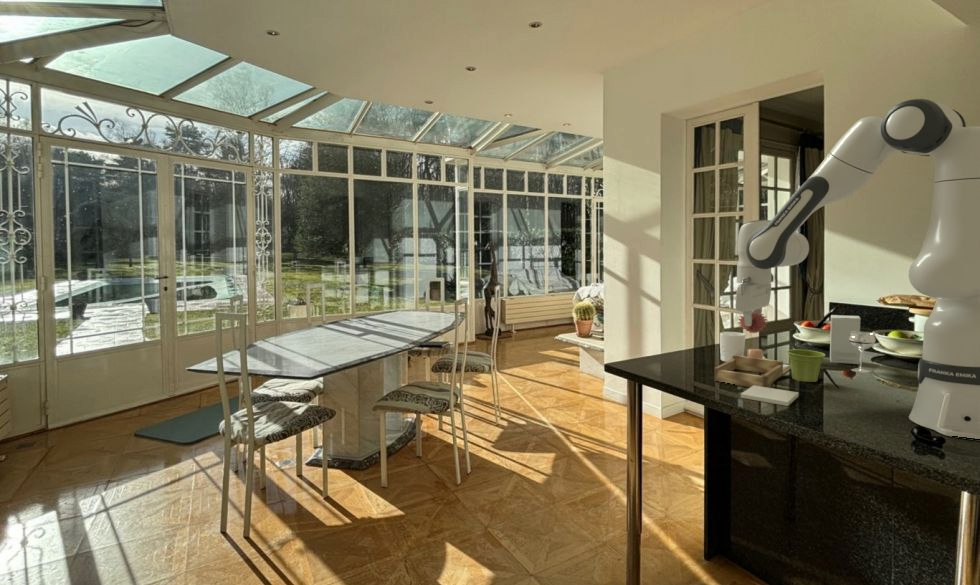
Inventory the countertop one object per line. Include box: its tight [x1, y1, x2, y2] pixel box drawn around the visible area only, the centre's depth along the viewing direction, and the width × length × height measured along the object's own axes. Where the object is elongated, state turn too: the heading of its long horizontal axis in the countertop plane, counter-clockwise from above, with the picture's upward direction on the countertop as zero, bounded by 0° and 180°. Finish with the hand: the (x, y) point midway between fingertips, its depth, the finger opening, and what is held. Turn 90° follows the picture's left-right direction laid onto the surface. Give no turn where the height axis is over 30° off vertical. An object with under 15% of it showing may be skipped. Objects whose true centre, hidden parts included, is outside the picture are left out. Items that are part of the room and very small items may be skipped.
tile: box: [740, 385, 800, 407], centre depth 136 cm, size 11×11×1 cm
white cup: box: [719, 331, 746, 363], centre depth 174 cm, size 8×8×10 cm
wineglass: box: [849, 330, 876, 374], centre depth 162 cm, size 7×7×12 cm
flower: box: [737, 311, 769, 334], centre depth 151 cm, size 8×8×6 cm
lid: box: [783, 362, 791, 375], centre depth 166 cm, size 14×16×1 cm
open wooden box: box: [713, 355, 784, 388], centre depth 153 cm, size 14×17×5 cm
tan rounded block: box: [746, 348, 764, 359], centre depth 167 cm, size 4×4×5 cm
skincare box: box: [829, 314, 862, 365], centre depth 174 cm, size 8×7×16 cm
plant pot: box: [786, 349, 826, 383], centre depth 149 cm, size 9×9×9 cm
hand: (752, 324), depth 151 cm, fingers closed on flower, 6 cm apart
